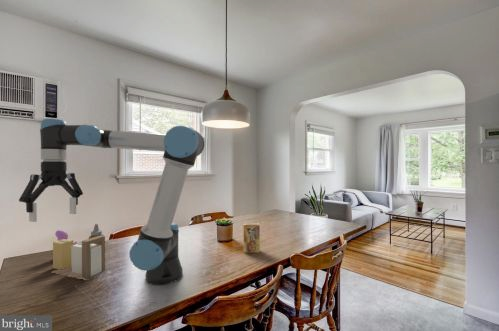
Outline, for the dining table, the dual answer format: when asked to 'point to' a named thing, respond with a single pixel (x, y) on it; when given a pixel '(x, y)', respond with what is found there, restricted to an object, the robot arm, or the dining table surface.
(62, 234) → the pink scoop
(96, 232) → the squeeze bottle
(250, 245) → the candy box
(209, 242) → the dining table surface
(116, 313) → the dining table surface
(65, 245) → the stub
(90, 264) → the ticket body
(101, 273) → the mat
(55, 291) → the dining table surface
